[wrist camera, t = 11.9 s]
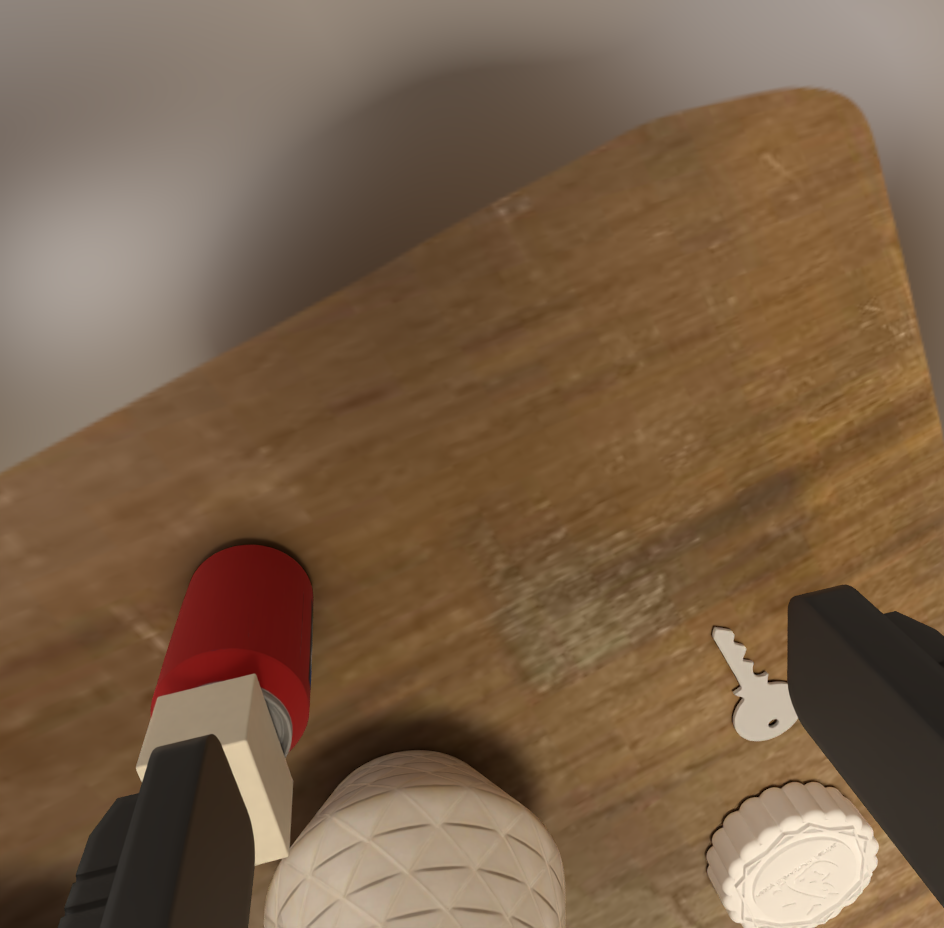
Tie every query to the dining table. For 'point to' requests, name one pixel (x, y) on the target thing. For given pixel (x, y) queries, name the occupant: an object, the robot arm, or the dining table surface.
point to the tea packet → (234, 751)
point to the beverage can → (247, 633)
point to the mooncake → (791, 857)
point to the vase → (419, 854)
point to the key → (755, 694)
